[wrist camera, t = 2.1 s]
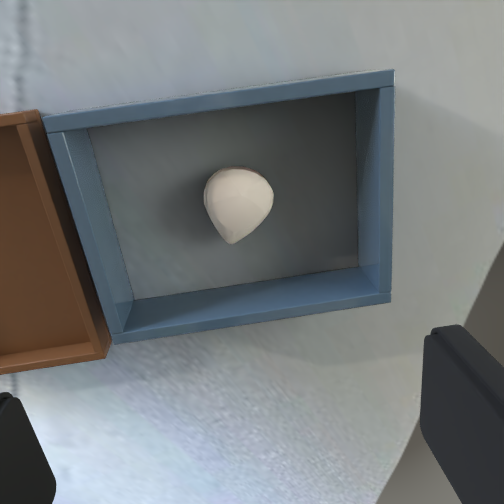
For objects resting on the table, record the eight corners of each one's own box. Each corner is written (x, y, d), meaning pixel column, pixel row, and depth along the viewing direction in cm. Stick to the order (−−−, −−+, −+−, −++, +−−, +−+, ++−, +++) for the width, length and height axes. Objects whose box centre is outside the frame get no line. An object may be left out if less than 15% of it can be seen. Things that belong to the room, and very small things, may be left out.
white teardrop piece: (275, 169, 26) (282, 178, 23) (260, 242, 28) (264, 256, 25) (208, 157, 25) (207, 166, 23) (197, 233, 27) (196, 247, 25)
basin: (67, 110, 23) (40, 117, 20) (367, 69, 24) (395, 68, 20) (126, 311, 29) (113, 345, 25) (369, 274, 29) (391, 302, 26)
